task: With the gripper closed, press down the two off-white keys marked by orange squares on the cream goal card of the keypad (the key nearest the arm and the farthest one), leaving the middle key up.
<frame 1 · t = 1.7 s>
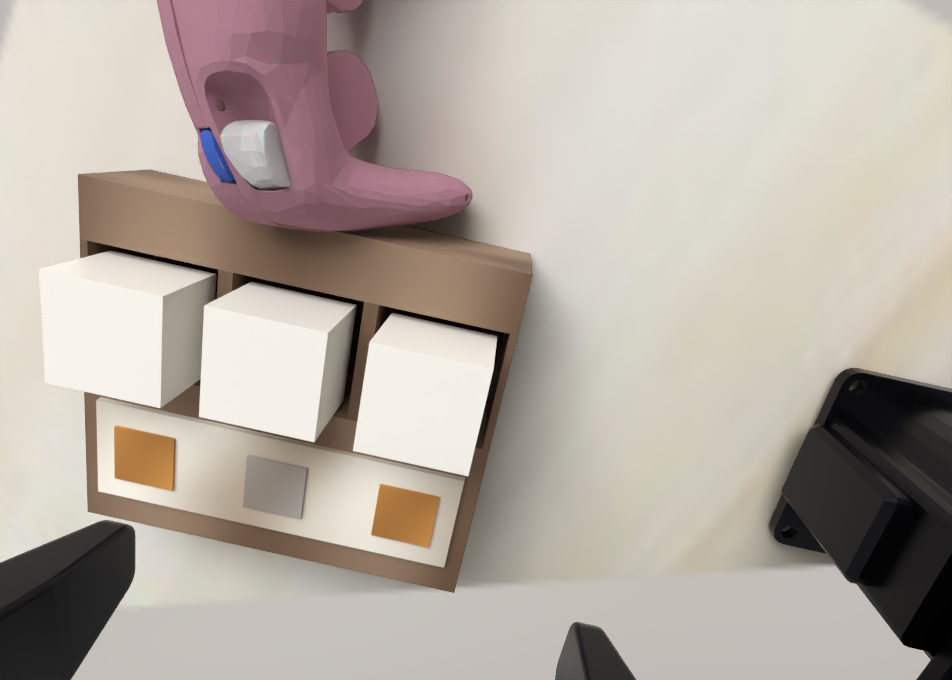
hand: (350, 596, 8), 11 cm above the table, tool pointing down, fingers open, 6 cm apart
key middle: (281, 358, 15), point 4 cm above the table, slide at 0.0 cm
keypad: (320, 370, 19), on the table
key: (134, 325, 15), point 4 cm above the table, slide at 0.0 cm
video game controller: (368, 43, 16), on the table, touching keypad
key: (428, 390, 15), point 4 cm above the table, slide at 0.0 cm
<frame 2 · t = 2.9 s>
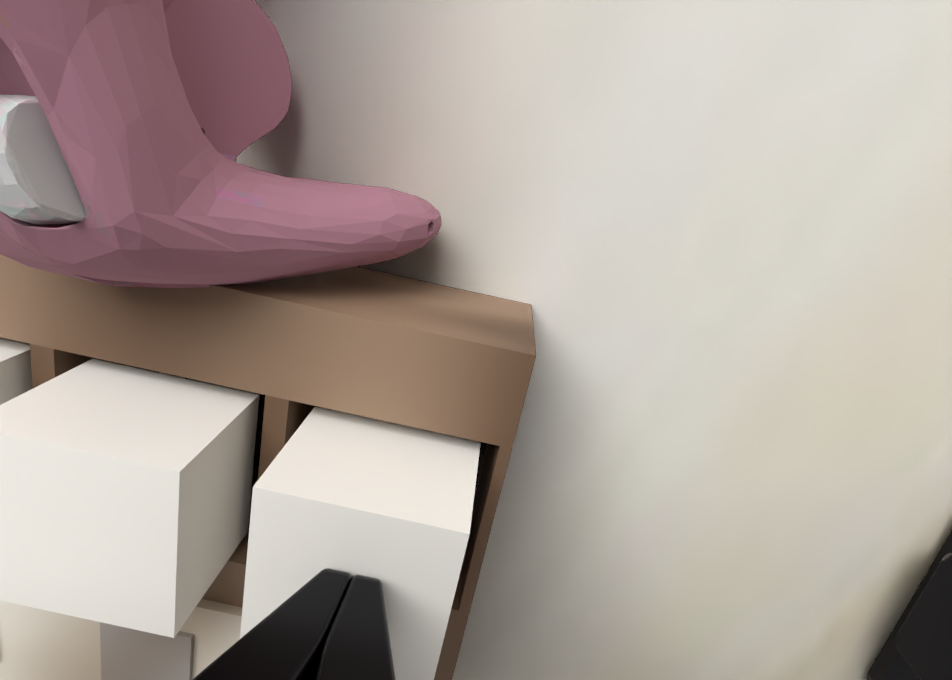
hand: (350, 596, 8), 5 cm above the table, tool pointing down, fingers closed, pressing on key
key middle: (130, 488, 9), point 4 cm above the table, slide at 0.0 cm
keypad: (231, 464, 13), on the table
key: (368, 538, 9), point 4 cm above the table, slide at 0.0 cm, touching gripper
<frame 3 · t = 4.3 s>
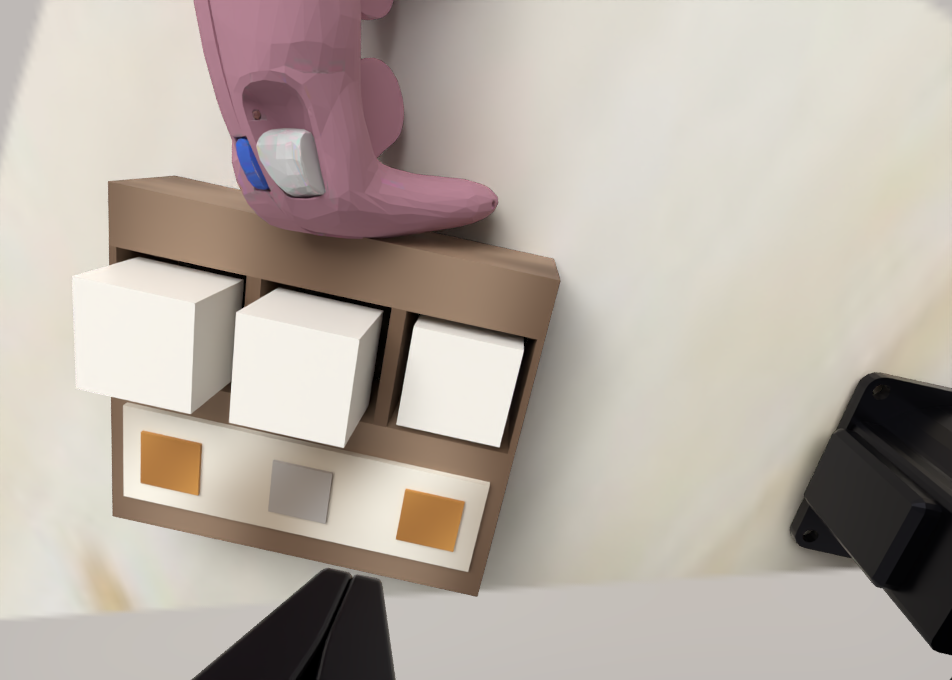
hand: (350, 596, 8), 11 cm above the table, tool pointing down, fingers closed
key middle: (309, 364, 15), point 4 cm above the table, slide at 0.0 cm
keypad: (342, 374, 19), on the table
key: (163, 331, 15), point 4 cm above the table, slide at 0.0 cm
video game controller: (394, 50, 16), on the table, touching keypad
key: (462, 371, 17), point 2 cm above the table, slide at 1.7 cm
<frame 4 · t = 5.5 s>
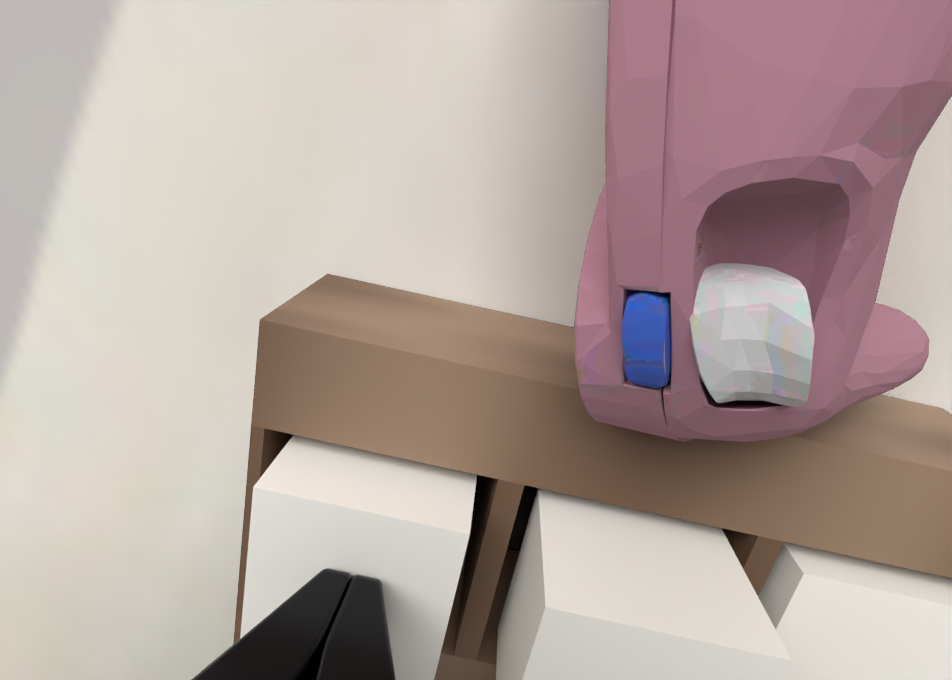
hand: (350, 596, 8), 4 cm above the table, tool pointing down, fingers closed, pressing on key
key middle: (615, 640, 8), point 4 cm above the table, slide at 0.0 cm
keypad: (563, 565, 13), on the table
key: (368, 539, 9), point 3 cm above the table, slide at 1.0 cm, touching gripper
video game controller: (730, 73, 9), on the table, touching keypad
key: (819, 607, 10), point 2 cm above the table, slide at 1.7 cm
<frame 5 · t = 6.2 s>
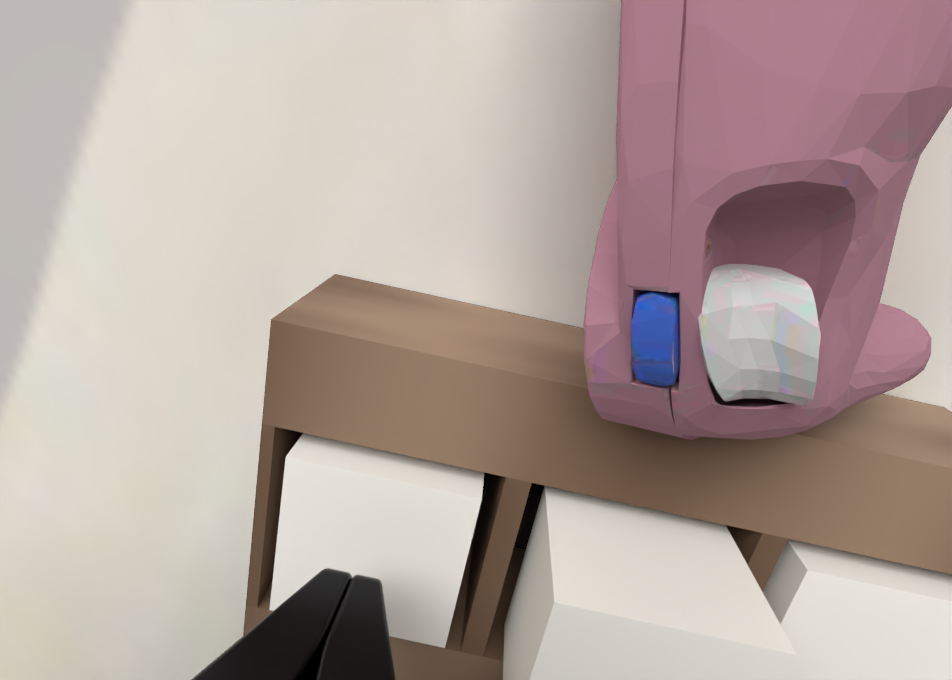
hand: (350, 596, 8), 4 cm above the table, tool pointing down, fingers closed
key middle: (621, 636, 8), point 4 cm above the table, slide at 0.0 cm
keypad: (568, 562, 13), on the table
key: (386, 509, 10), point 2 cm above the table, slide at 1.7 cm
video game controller: (734, 76, 9), on the table, touching keypad
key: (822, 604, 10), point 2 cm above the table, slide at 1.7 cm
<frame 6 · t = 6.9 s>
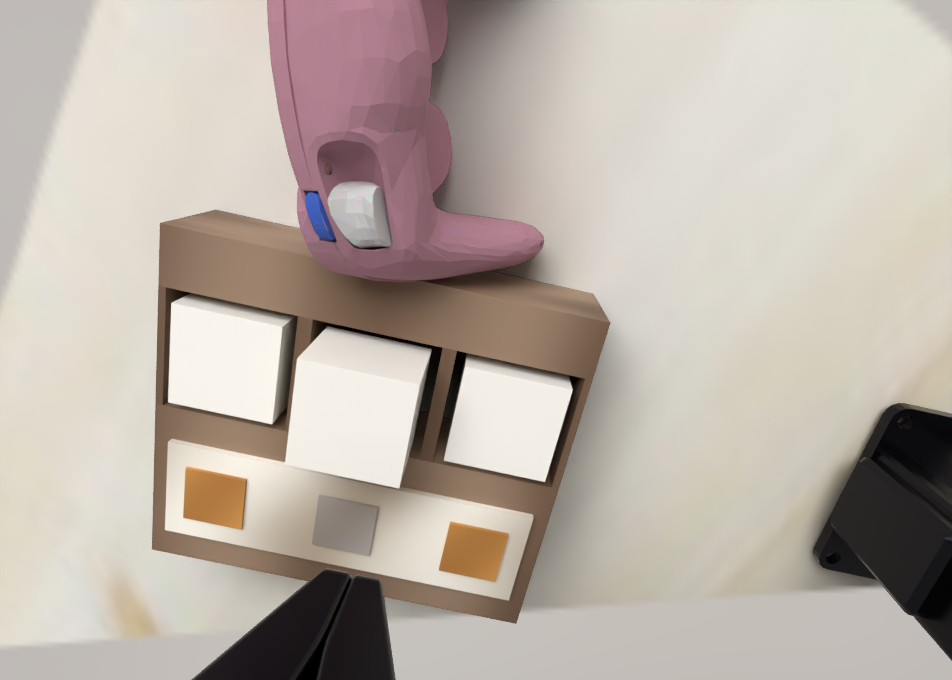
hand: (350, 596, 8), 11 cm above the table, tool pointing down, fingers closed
key middle: (361, 404, 15), point 4 cm above the table, slide at 0.0 cm
keypad: (379, 404, 19), on the table
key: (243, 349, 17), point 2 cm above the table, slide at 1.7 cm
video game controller: (441, 90, 16), on the table, touching keypad
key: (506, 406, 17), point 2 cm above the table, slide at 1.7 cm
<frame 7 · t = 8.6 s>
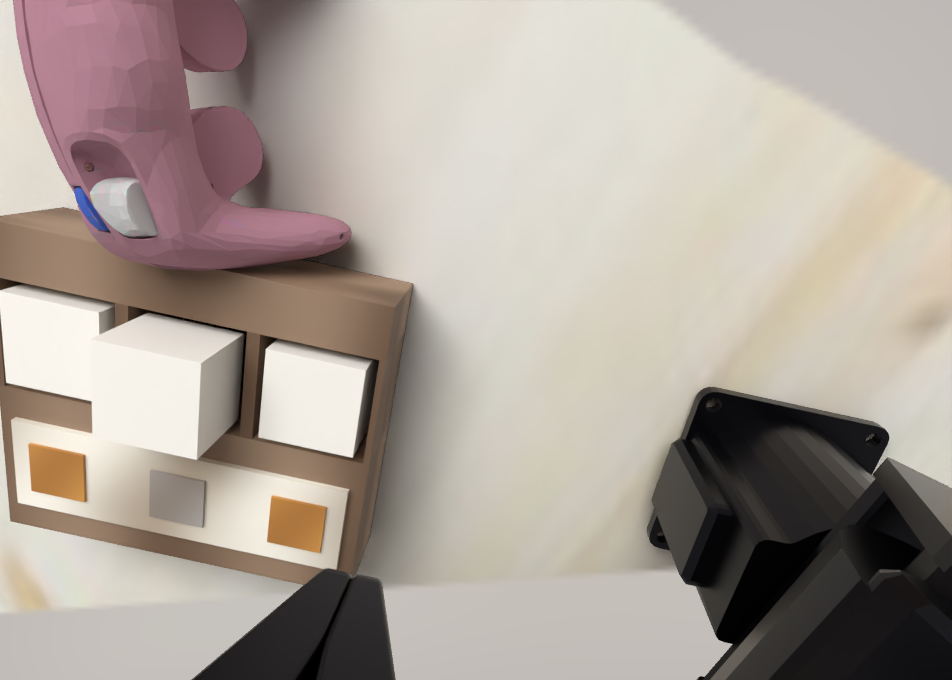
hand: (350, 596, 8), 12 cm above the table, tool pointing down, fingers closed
key middle: (171, 383, 17), point 4 cm above the table, slide at 0.0 cm
keypad: (229, 389, 21), on the table
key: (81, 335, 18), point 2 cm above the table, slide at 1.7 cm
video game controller: (255, 95, 18), on the table, touching keypad
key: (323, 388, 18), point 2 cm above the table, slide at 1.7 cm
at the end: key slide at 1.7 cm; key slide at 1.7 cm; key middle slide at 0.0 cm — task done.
